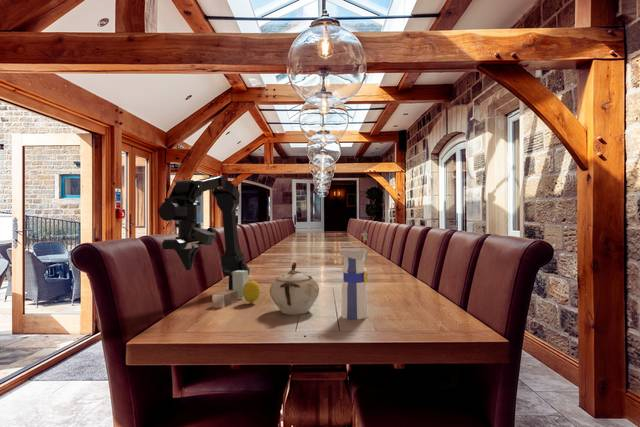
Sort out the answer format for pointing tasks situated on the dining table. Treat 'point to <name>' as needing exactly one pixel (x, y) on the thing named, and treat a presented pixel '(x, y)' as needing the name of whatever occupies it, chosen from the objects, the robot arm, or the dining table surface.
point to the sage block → (240, 281)
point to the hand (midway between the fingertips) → (188, 270)
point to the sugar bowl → (294, 292)
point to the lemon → (251, 291)
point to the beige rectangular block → (225, 298)
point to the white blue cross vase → (354, 283)
